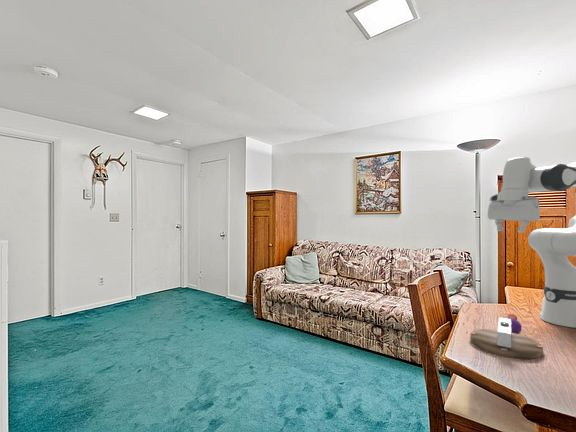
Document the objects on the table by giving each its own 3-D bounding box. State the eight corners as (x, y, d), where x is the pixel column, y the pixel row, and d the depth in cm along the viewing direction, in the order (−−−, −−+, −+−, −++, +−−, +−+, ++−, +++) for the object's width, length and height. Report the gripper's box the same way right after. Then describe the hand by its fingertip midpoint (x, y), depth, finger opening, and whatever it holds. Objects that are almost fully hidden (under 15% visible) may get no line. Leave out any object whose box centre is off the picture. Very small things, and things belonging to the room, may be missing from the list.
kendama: (522, 313, 125) (523, 323, 109) (519, 327, 125) (519, 339, 110) (505, 308, 129) (503, 317, 113) (502, 321, 129) (499, 332, 113)
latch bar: (499, 329, 111) (499, 315, 111) (511, 331, 109) (511, 317, 109) (497, 345, 97) (497, 329, 97) (511, 348, 95) (511, 332, 95)
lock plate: (473, 330, 117) (473, 323, 117) (540, 343, 105) (540, 335, 105) (467, 348, 101) (467, 341, 101) (545, 366, 89) (545, 357, 89)
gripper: (546, 197, 111) (542, 234, 111) (499, 199, 131) (495, 230, 131) (532, 195, 110) (527, 232, 110) (486, 197, 130) (483, 229, 130)
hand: (510, 231), depth 121 cm, fingers open, 8 cm apart
